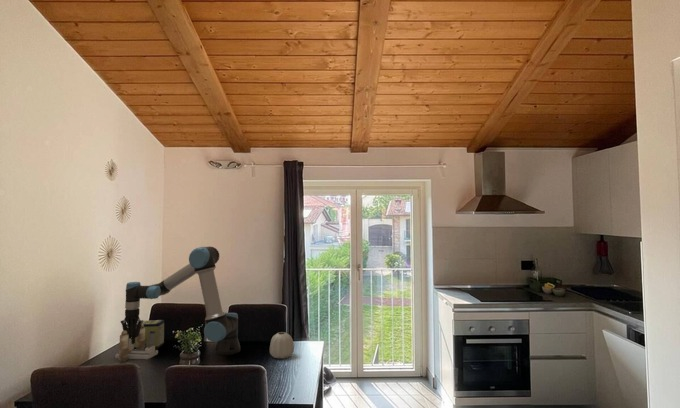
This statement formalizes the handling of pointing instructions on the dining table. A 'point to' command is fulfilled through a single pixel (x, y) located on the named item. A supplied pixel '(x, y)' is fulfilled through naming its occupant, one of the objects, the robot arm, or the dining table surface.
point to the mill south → (141, 339)
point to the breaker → (150, 349)
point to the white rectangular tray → (139, 354)
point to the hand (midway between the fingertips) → (131, 349)
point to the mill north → (123, 346)
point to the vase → (281, 345)
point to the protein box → (153, 333)
